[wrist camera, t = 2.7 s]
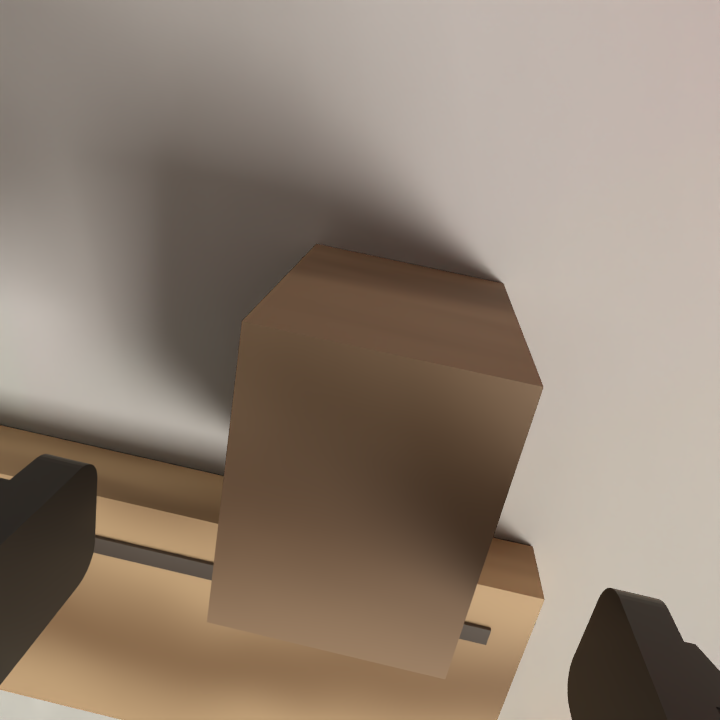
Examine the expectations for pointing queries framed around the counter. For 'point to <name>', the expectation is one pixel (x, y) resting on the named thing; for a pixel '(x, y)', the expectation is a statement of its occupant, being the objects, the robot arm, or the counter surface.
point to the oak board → (227, 645)
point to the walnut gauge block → (369, 457)
